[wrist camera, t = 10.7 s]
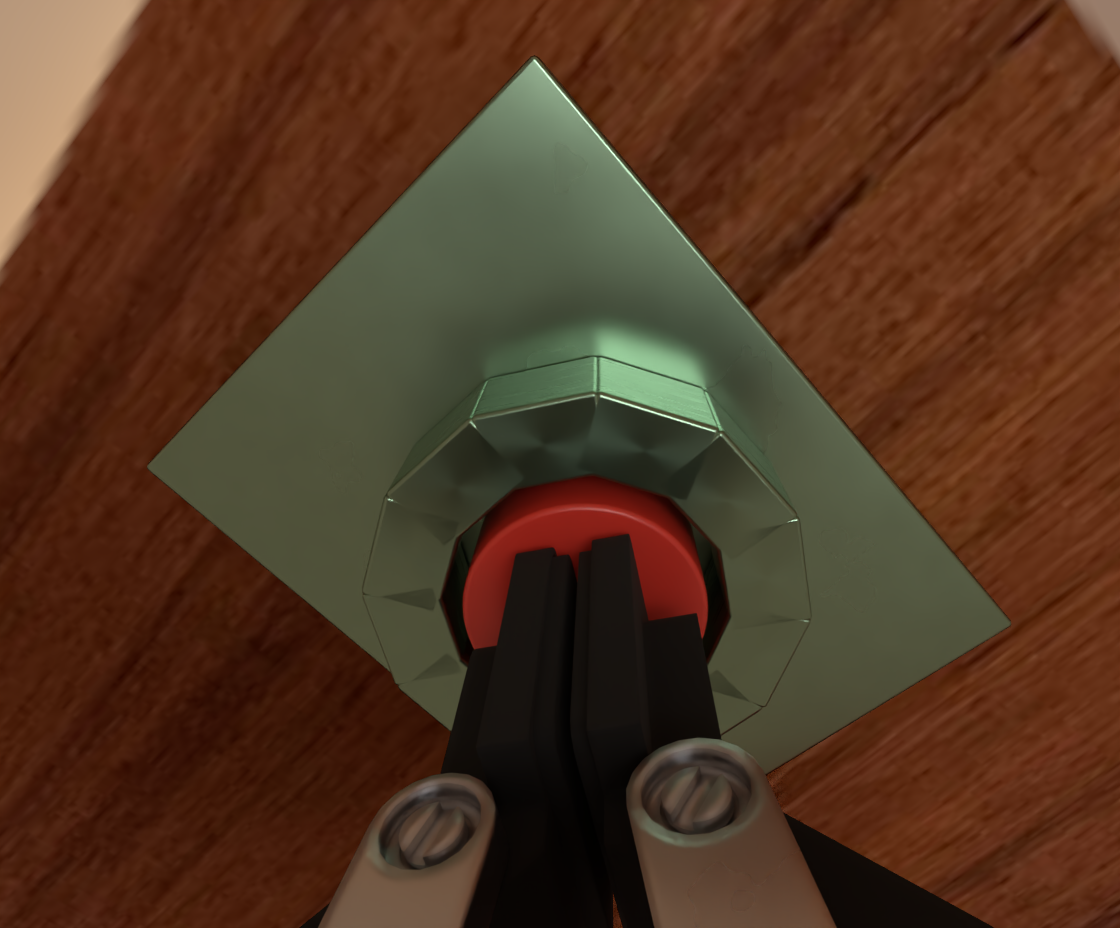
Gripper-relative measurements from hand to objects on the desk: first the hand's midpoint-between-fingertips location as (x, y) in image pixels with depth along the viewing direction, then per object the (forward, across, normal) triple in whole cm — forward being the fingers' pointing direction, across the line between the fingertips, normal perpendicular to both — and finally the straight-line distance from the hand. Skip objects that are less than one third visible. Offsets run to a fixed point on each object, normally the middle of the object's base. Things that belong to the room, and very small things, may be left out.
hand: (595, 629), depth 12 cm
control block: (+4, 0, 0) cm, 4 cm away
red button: (+2, 0, 0) cm, 2 cm away
